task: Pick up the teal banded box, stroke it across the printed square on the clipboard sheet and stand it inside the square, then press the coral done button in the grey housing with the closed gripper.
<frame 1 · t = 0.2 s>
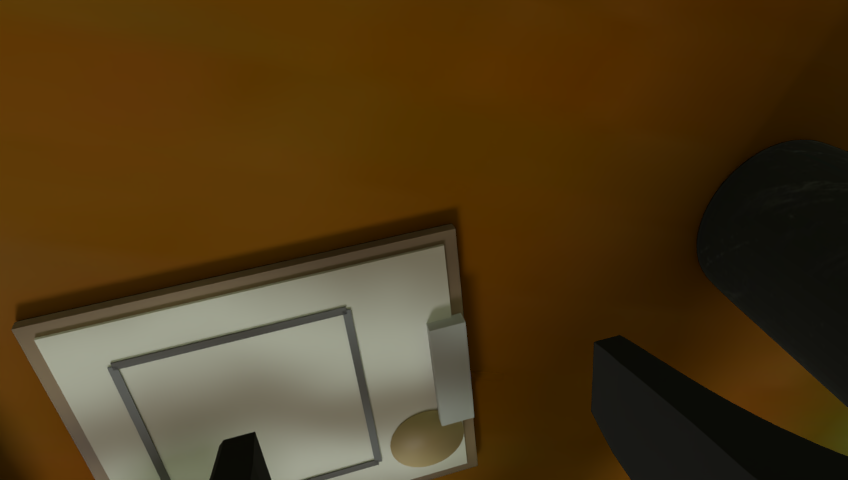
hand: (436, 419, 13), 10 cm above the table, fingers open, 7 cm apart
travel mug: (768, 216, 27), on the table
clipboard with paper sheet: (285, 402, 25), on the table
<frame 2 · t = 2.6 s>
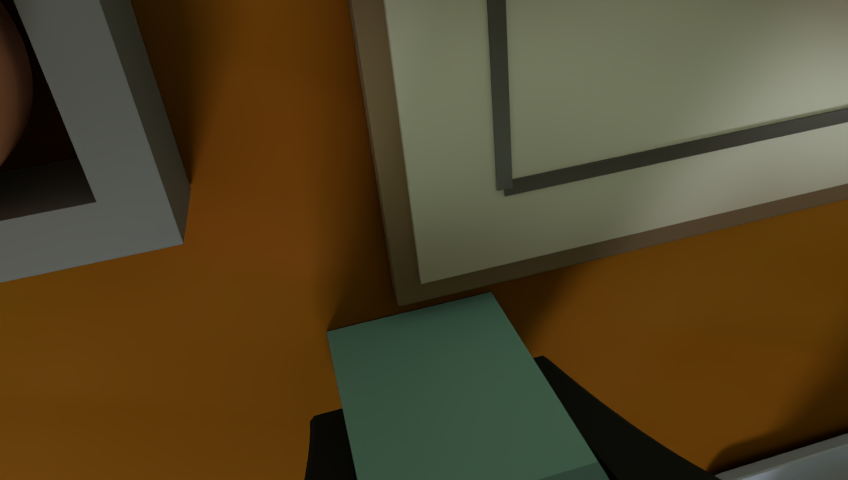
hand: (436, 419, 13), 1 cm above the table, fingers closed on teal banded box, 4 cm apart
teal banded box: (419, 374, 14), on the table, touching gripper
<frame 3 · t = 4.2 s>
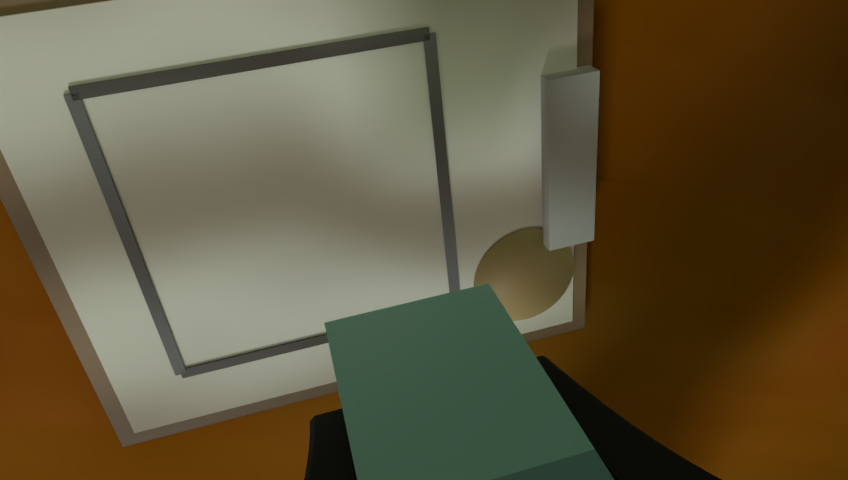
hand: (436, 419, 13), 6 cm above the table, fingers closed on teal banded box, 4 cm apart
clipboard with paper sheet: (330, 200, 17), on the table
teal banded box: (417, 366, 14), point 5 cm above the table, touching gripper
when the fingers open (3 cm above the table, at t = 6.2 s): teal banded box stays where it is, resting on clipboard with paper sheet.
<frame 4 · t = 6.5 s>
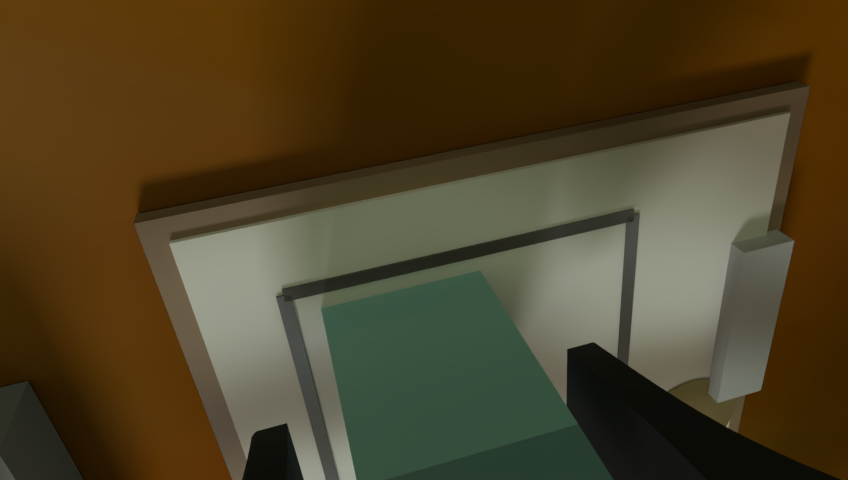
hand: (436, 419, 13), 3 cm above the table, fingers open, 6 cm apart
clipboard with paper sheet: (507, 364, 17), on the table
teal banded box: (411, 351, 15), point 1 cm above the table, touching clipboard with paper sheet
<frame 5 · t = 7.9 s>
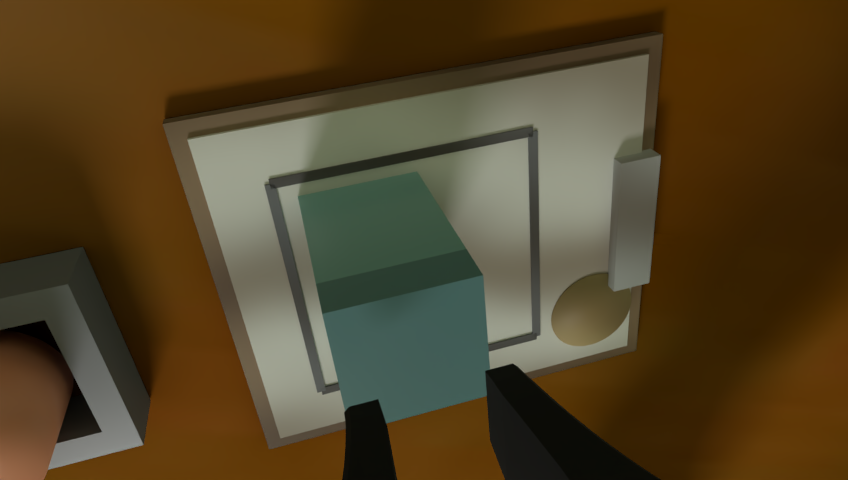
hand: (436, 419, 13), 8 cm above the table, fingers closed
clipboard with paper sheet: (444, 254, 22), on the table
teal banded box: (367, 235, 20), point 1 cm above the table, touching clipboard with paper sheet
button housing: (15, 353, 19), on the table
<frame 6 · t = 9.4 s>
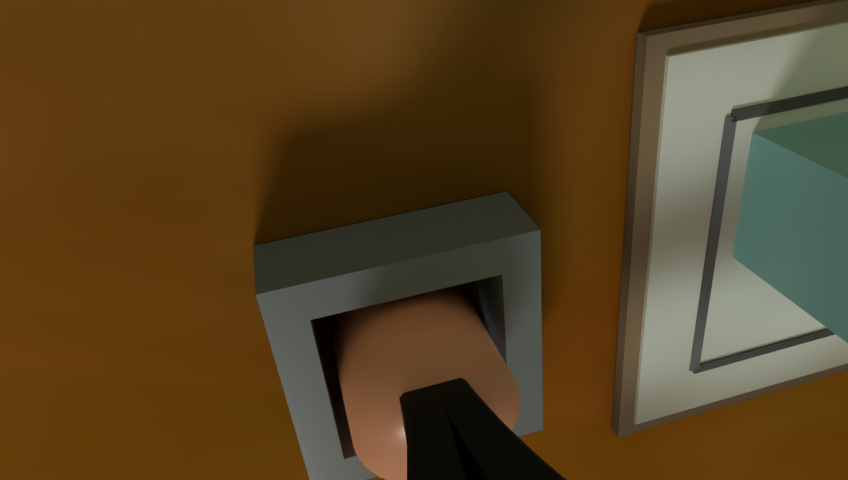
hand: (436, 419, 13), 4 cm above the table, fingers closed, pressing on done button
done button: (420, 374, 14), point 2 cm above the table, slide at 0.7 cm, touching gripper
teal banded box: (801, 183, 17), point 1 cm above the table, touching clipboard with paper sheet
button housing: (400, 320, 16), on the table
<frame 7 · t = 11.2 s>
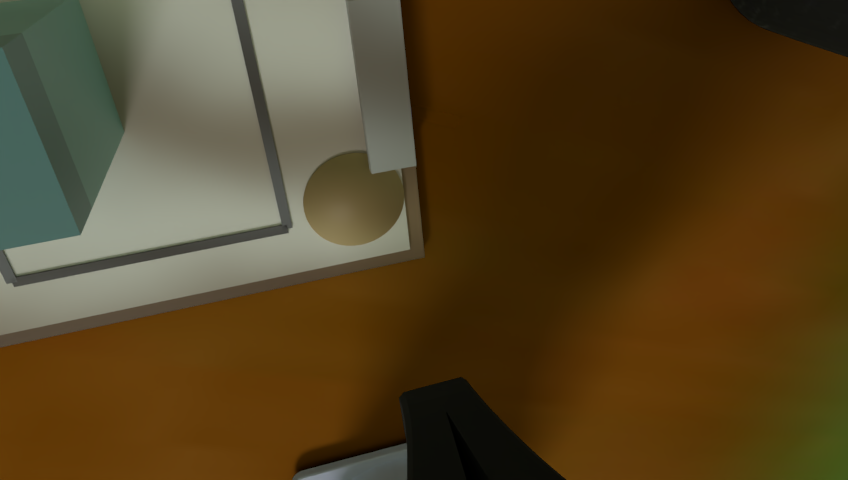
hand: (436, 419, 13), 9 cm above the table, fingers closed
clipboard with paper sheet: (151, 116, 18), on the table
teal banded box: (27, 77, 16), point 1 cm above the table, touching clipboard with paper sheet
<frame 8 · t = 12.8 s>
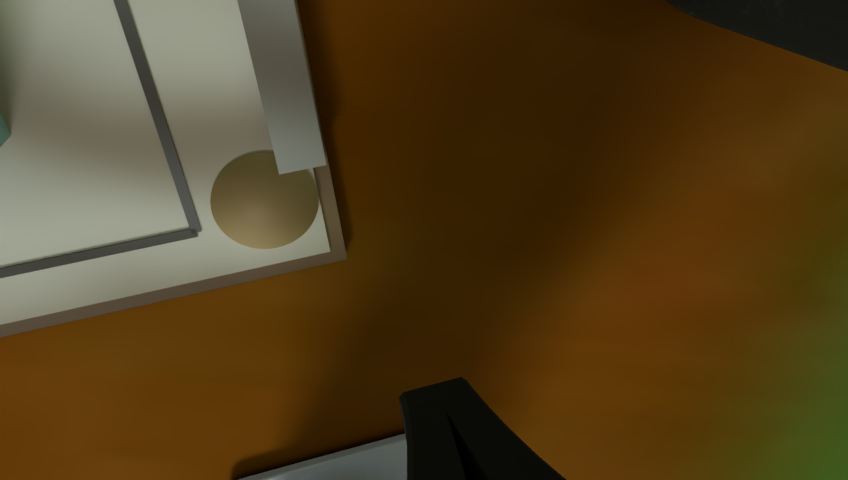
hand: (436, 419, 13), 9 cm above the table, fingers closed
clipboard with paper sheet: (42, 118, 17), on the table
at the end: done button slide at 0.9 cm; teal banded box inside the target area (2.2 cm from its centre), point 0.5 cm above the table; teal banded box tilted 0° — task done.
